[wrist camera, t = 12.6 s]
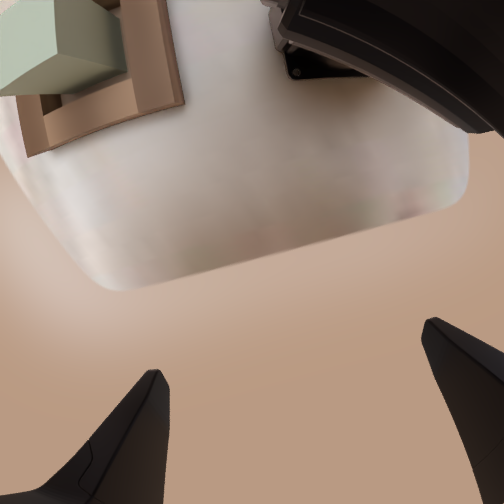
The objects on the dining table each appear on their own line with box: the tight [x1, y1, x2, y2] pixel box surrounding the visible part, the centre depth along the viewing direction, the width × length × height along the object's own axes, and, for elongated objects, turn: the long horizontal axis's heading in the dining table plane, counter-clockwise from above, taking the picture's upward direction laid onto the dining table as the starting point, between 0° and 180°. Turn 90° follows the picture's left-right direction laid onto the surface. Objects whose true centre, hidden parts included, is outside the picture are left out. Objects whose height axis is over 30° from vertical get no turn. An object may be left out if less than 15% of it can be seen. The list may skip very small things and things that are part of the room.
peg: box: [0, 0, 128, 97], centre depth 10 cm, size 4×4×8 cm
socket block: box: [16, 0, 185, 158], centre depth 13 cm, size 10×10×3 cm
